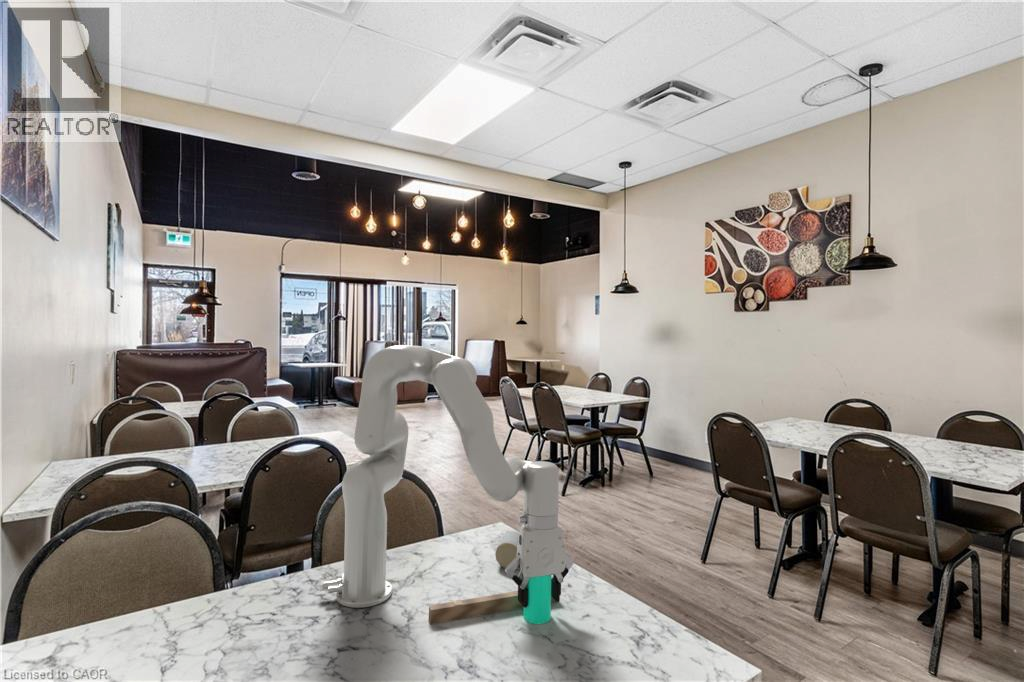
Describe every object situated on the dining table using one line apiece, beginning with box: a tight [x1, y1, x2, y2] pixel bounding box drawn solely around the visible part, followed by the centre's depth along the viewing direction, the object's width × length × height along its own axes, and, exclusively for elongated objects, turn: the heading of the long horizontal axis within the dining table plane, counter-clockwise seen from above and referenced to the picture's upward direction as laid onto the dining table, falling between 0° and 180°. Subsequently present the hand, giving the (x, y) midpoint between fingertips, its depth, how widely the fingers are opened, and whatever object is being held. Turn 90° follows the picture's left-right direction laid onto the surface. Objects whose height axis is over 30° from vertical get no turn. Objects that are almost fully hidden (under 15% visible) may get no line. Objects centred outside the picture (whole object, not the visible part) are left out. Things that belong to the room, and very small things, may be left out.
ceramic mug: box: [495, 530, 520, 569], centre depth 135 cm, size 11×8×8 cm
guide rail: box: [428, 590, 558, 625], centre depth 111 cm, size 30×2×3 cm, turn 111°
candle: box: [523, 575, 552, 625], centre depth 109 cm, size 6×6×12 cm
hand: (539, 601), depth 109 cm, fingers open, 7 cm apart
